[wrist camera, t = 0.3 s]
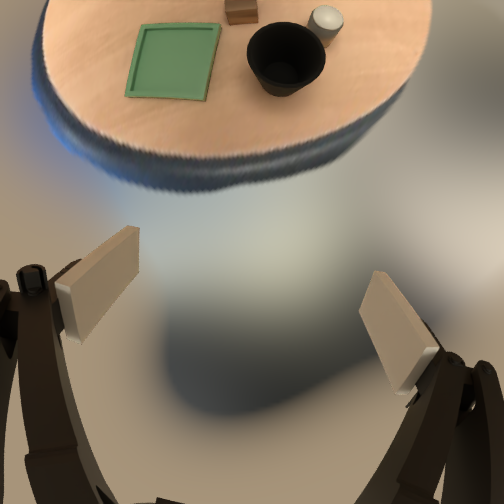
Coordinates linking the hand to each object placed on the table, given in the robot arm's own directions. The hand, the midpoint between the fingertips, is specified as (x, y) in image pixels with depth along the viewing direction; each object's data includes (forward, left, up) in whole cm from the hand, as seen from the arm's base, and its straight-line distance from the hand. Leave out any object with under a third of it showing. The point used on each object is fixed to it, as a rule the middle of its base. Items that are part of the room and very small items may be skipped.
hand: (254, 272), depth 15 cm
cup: (-16, 0, -26) cm, 31 cm away
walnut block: (-26, -7, -26) cm, 38 cm away
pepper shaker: (-24, +4, -26) cm, 36 cm away
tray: (-17, -16, -26) cm, 35 cm away
